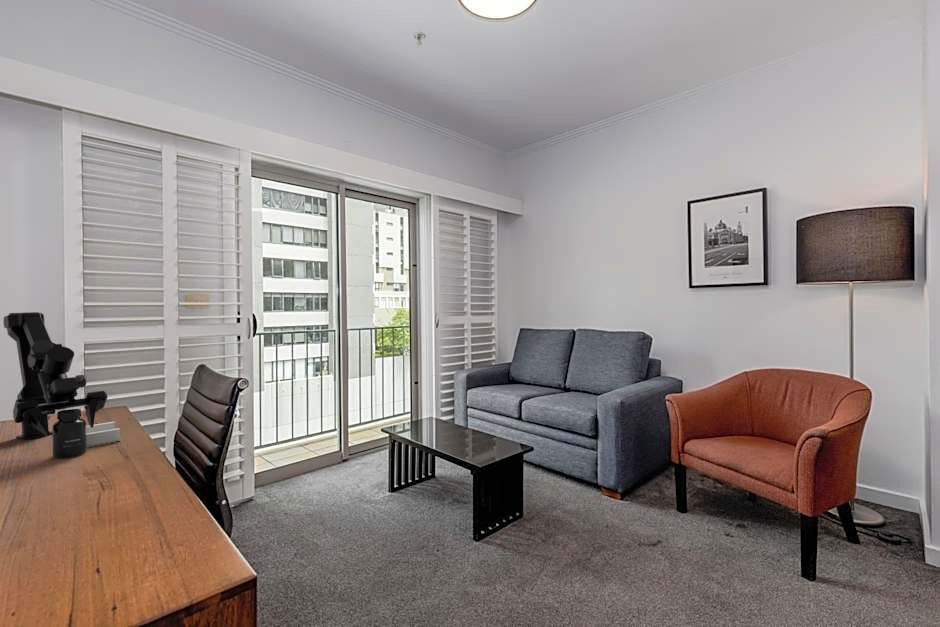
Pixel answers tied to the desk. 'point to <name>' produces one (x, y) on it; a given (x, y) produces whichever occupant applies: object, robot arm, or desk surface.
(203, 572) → the desk surface
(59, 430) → the supplement bottle
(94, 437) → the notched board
